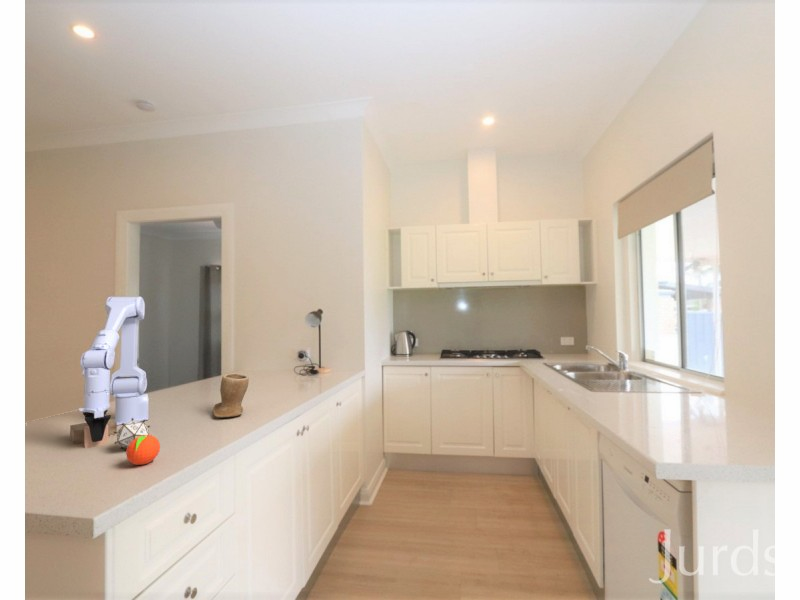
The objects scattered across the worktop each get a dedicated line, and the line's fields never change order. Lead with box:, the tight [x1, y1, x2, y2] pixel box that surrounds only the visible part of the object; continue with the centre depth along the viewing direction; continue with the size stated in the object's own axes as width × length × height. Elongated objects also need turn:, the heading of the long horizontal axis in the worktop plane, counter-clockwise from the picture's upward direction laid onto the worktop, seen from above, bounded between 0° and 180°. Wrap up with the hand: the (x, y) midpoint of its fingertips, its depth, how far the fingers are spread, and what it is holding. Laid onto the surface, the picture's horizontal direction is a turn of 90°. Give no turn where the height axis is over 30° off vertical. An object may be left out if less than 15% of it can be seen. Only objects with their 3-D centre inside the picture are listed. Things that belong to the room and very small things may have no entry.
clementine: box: [126, 434, 161, 466], centre depth 90 cm, size 8×7×7 cm
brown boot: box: [213, 372, 250, 418], centre depth 135 cm, size 15×12×15 cm
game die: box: [113, 418, 153, 450], centre depth 100 cm, size 9×8×10 cm
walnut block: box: [69, 417, 118, 444], centre depth 111 cm, size 10×8×4 cm
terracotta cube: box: [83, 425, 109, 449], centre depth 105 cm, size 5×5×5 cm
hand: (96, 438), depth 105 cm, fingers open, 7 cm apart
